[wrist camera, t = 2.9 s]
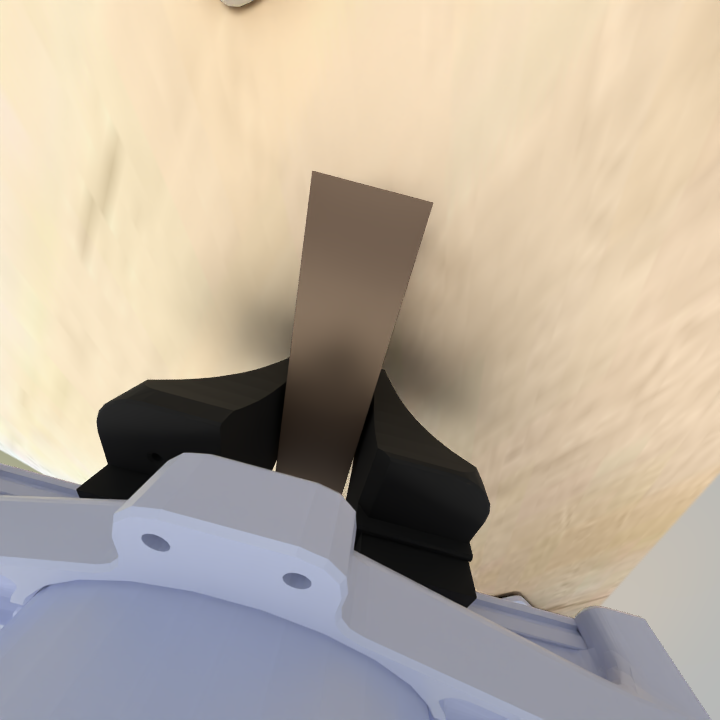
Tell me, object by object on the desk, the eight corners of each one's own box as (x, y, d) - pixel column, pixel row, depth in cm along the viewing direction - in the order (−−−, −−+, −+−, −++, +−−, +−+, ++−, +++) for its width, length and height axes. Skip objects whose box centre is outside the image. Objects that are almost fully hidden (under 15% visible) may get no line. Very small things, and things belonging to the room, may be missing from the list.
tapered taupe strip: (343, 460, 16) (318, 568, 11) (307, 451, 16) (265, 554, 11) (412, 222, 10) (432, 202, 5) (354, 207, 10) (312, 171, 5)
